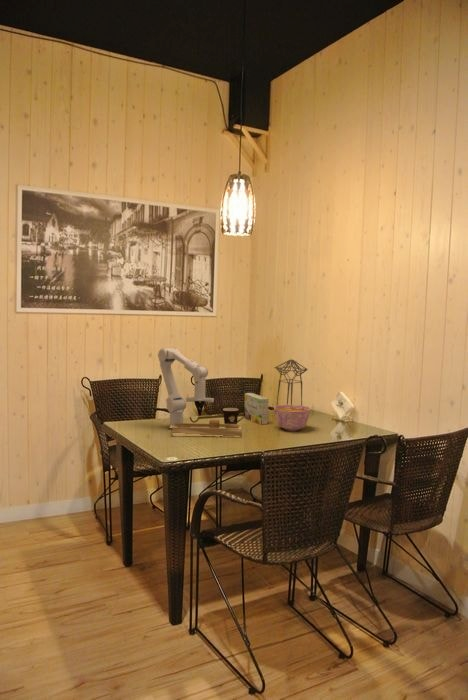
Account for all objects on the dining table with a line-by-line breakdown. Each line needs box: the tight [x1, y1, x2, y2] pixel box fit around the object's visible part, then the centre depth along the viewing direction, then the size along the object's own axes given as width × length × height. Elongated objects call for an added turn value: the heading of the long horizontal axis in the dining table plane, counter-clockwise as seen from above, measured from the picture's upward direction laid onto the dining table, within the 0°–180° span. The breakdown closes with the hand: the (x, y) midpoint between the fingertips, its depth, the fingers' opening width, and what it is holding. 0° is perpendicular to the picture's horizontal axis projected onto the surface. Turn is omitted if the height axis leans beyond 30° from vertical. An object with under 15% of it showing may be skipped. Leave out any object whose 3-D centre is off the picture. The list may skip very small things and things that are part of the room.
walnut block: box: [208, 419, 220, 428], centre depth 288 cm, size 5×5×4 cm
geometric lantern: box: [274, 359, 308, 407], centre depth 335 cm, size 16×16×35 cm
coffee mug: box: [222, 407, 245, 424], centre depth 305 cm, size 12×9×10 cm
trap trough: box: [171, 422, 242, 437], centre depth 288 cm, size 11×36×4 cm, turn 89°
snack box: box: [244, 392, 269, 426], centre depth 322 cm, size 21×6×15 cm, turn 25°
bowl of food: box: [273, 404, 311, 432], centre depth 302 cm, size 20×20×12 cm
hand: (199, 415), depth 291 cm, fingers closed
